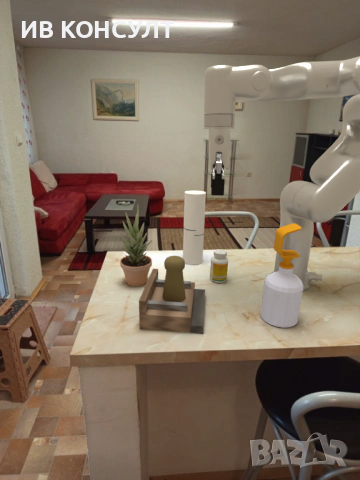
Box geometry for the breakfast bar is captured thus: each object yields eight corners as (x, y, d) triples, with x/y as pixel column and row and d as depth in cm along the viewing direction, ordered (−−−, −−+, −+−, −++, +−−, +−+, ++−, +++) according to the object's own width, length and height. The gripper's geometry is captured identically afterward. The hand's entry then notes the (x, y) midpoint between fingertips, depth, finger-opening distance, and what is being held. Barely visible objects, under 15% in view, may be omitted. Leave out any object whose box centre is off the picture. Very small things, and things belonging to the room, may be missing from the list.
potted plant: (128, 292, 92) (125, 208, 84) (116, 279, 99) (112, 202, 91) (158, 284, 97) (158, 205, 89) (145, 272, 104) (143, 198, 96)
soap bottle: (304, 327, 77) (321, 231, 69) (267, 329, 76) (280, 231, 68) (288, 308, 85) (302, 220, 77) (255, 309, 84) (266, 220, 76)
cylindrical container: (184, 256, 118) (185, 190, 110) (203, 258, 117) (206, 190, 109) (181, 264, 112) (183, 193, 103) (201, 265, 111) (205, 194, 102)
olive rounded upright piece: (186, 292, 84) (188, 253, 80) (184, 304, 78) (185, 263, 75) (164, 290, 84) (164, 252, 81) (160, 302, 79) (160, 261, 75)
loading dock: (204, 295, 90) (206, 271, 88) (203, 333, 74) (204, 305, 71) (153, 292, 92) (152, 268, 89) (139, 328, 75) (138, 300, 72)
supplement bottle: (206, 277, 102) (208, 249, 99) (220, 274, 104) (222, 247, 101) (215, 284, 97) (217, 255, 94) (230, 281, 99) (232, 253, 96)
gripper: (237, 121, 70) (233, 198, 75) (232, 123, 86) (229, 186, 92) (203, 122, 70) (202, 198, 76) (204, 123, 87) (203, 185, 92)
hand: (217, 191), depth 84 cm, fingers open, 9 cm apart
